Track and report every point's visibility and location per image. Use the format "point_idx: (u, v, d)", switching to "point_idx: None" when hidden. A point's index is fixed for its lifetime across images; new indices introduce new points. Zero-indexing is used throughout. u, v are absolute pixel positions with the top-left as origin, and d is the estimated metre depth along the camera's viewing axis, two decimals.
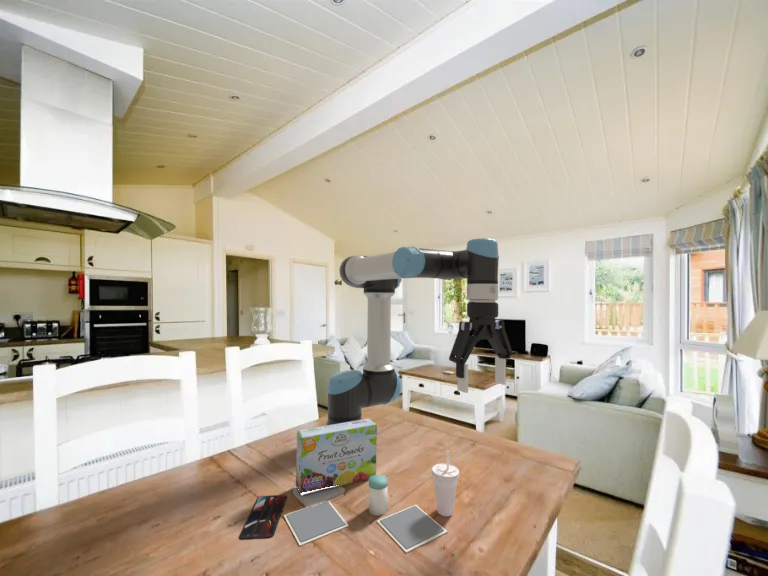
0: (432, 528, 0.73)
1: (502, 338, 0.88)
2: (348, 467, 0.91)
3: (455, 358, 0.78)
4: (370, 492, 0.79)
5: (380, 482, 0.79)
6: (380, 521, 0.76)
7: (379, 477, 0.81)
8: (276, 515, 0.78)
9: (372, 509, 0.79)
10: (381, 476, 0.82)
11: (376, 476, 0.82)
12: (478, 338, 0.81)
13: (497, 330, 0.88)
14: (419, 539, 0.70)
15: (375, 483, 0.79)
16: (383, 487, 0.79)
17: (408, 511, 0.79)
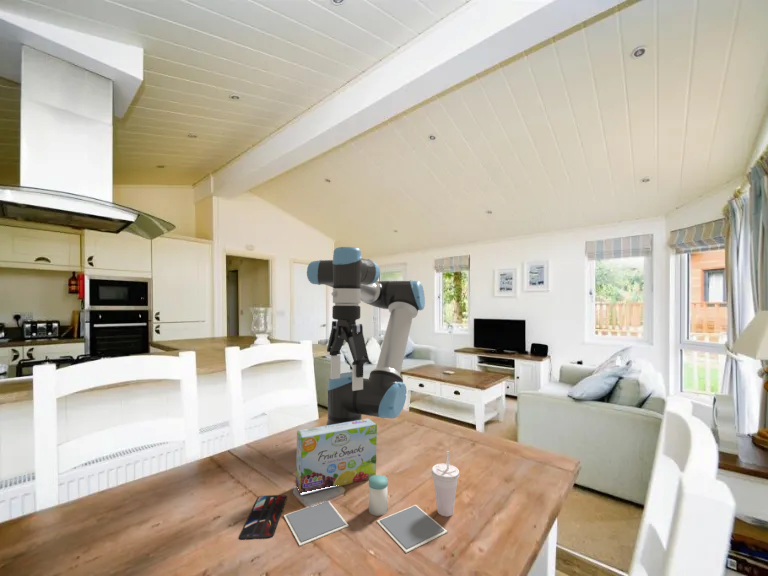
0: (432, 528, 0.73)
1: None
2: (348, 467, 0.91)
3: None
4: (370, 492, 0.79)
5: (380, 482, 0.79)
6: (380, 521, 0.76)
7: (379, 477, 0.81)
8: (276, 515, 0.78)
9: (372, 509, 0.79)
10: (381, 476, 0.82)
11: (376, 476, 0.82)
12: (335, 336, 0.94)
13: None
14: (419, 539, 0.70)
15: (375, 483, 0.79)
16: (383, 487, 0.79)
17: (408, 511, 0.79)
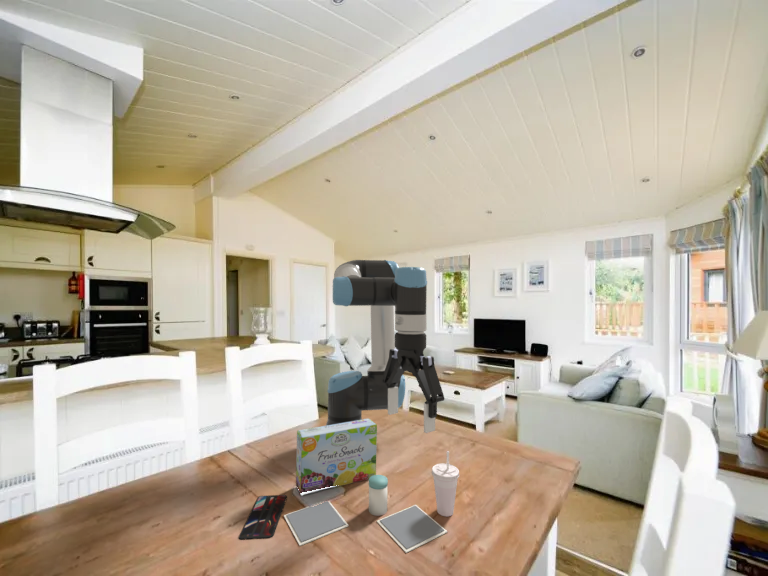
0: (432, 528, 0.73)
1: None
2: (348, 467, 0.91)
3: None
4: (370, 492, 0.79)
5: (380, 482, 0.79)
6: (380, 521, 0.76)
7: (379, 477, 0.81)
8: (276, 515, 0.78)
9: (372, 509, 0.79)
10: (381, 476, 0.82)
11: (376, 476, 0.82)
12: (396, 367, 0.83)
13: None
14: (419, 539, 0.70)
15: (375, 483, 0.79)
16: (383, 487, 0.79)
17: (408, 511, 0.79)
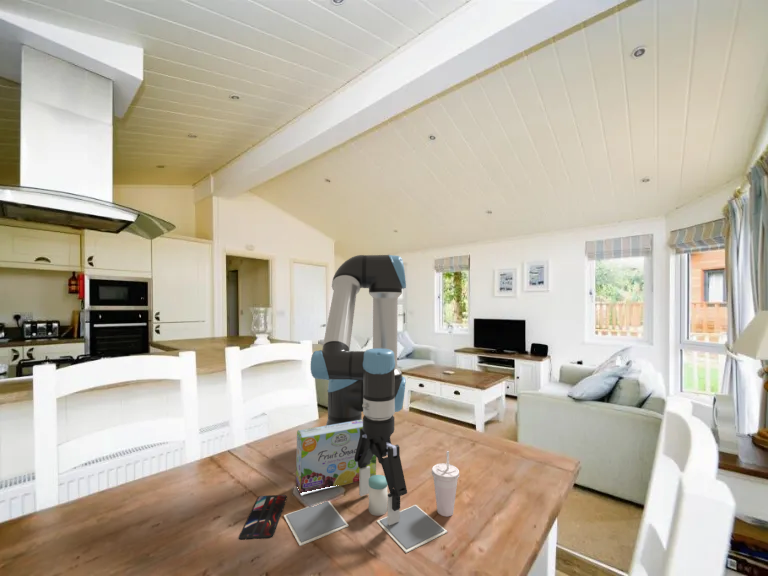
0: (432, 528, 0.73)
1: None
2: (348, 467, 0.91)
3: None
4: (370, 492, 0.79)
5: (380, 482, 0.79)
6: (380, 521, 0.76)
7: (379, 477, 0.81)
8: (276, 515, 0.78)
9: (372, 509, 0.79)
10: (381, 476, 0.82)
11: (376, 476, 0.82)
12: (365, 449, 0.82)
13: None
14: (419, 539, 0.70)
15: (375, 483, 0.79)
16: (383, 487, 0.79)
17: (408, 511, 0.79)
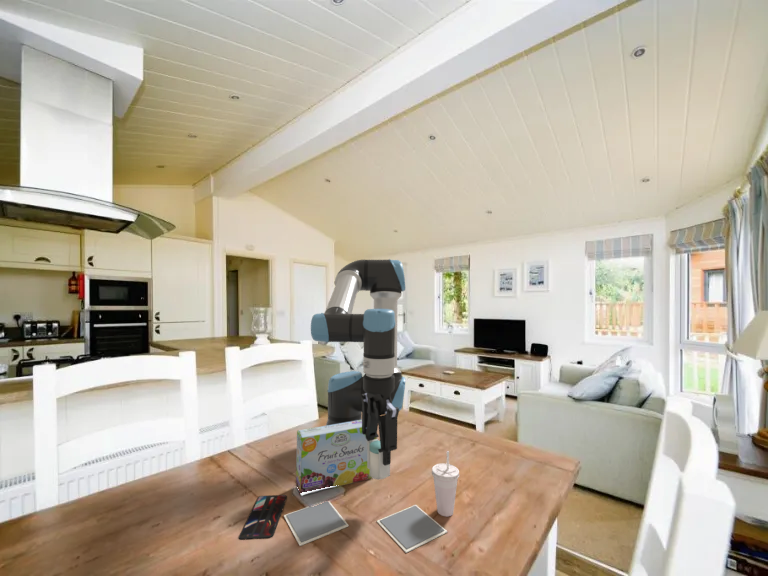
0: (432, 528, 0.73)
1: None
2: (348, 467, 0.91)
3: None
4: (371, 457, 0.80)
5: None
6: (380, 521, 0.76)
7: (379, 443, 0.82)
8: (276, 515, 0.78)
9: (373, 473, 0.79)
10: None
11: (377, 442, 0.83)
12: (368, 412, 0.82)
13: None
14: (419, 539, 0.70)
15: (376, 448, 0.80)
16: None
17: (408, 511, 0.79)
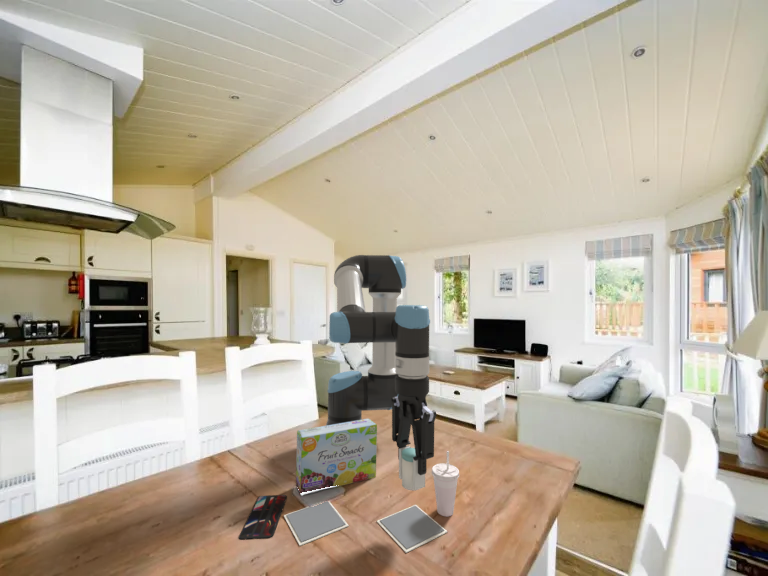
0: (432, 528, 0.73)
1: None
2: (348, 467, 0.91)
3: None
4: (404, 465, 0.73)
5: (415, 455, 0.74)
6: (380, 521, 0.76)
7: (412, 450, 0.76)
8: (276, 515, 0.78)
9: (407, 483, 0.73)
10: None
11: (409, 449, 0.76)
12: (400, 417, 0.76)
13: None
14: (419, 539, 0.70)
15: (410, 455, 0.73)
16: None
17: (408, 511, 0.79)
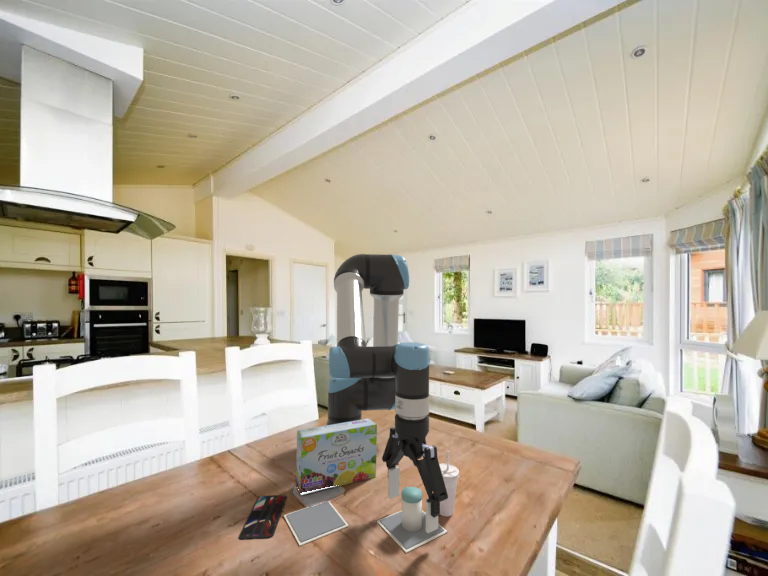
0: None
1: None
2: (348, 467, 0.91)
3: None
4: (404, 506, 0.73)
5: (414, 495, 0.73)
6: (380, 521, 0.76)
7: (412, 490, 0.76)
8: (276, 515, 0.78)
9: (406, 524, 0.73)
10: (414, 488, 0.76)
11: (409, 488, 0.76)
12: (396, 450, 0.77)
13: None
14: (419, 539, 0.70)
15: (409, 496, 0.73)
16: (418, 501, 0.73)
17: None
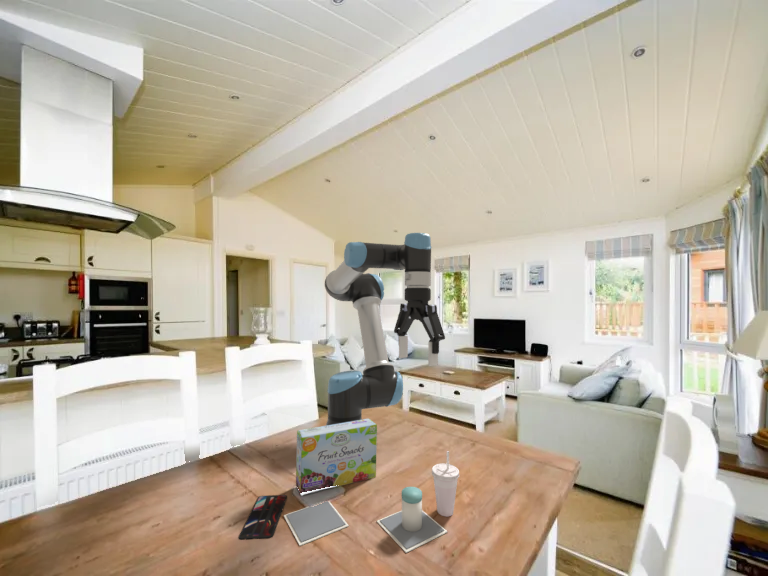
0: (432, 528, 0.73)
1: None
2: (348, 467, 0.91)
3: None
4: (404, 506, 0.73)
5: (414, 495, 0.73)
6: (380, 521, 0.76)
7: (412, 490, 0.75)
8: (276, 515, 0.78)
9: (406, 524, 0.73)
10: (414, 488, 0.76)
11: (409, 488, 0.76)
12: (405, 317, 1.00)
13: None
14: (419, 539, 0.70)
15: (409, 497, 0.73)
16: (418, 501, 0.73)
17: None
